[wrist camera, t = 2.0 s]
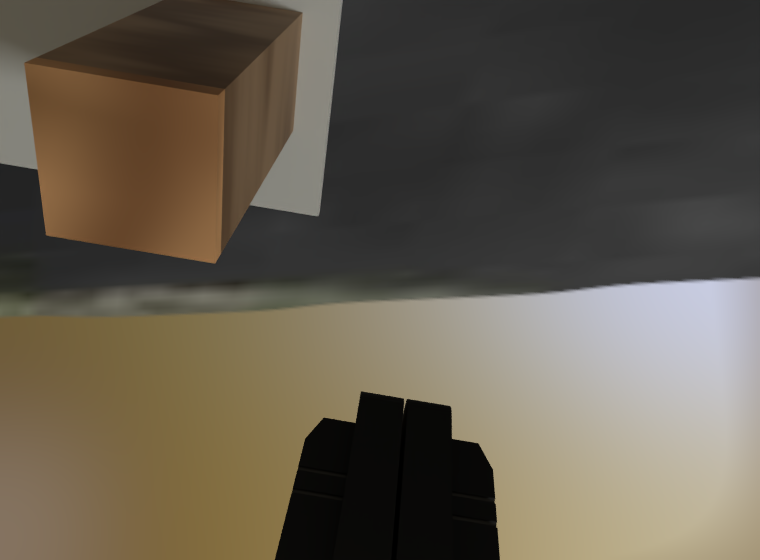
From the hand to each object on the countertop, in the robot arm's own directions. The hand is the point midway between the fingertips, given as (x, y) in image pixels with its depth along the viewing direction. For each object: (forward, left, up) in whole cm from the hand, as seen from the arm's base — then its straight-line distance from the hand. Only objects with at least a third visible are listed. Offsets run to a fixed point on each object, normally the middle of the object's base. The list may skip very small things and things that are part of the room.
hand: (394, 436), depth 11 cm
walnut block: (-8, 0, -20) cm, 22 cm away
